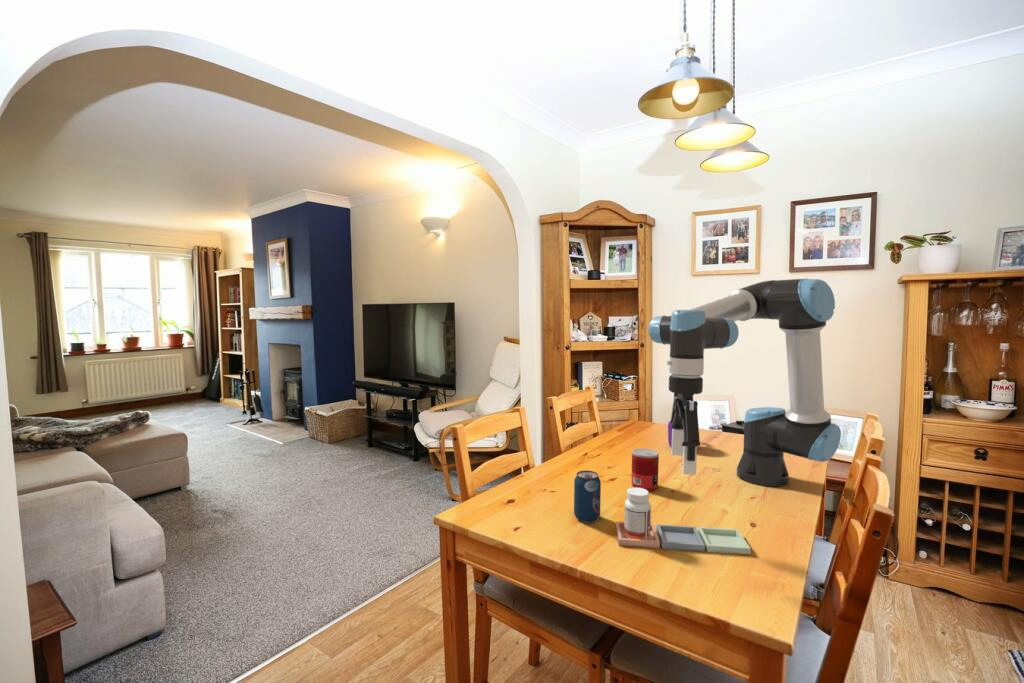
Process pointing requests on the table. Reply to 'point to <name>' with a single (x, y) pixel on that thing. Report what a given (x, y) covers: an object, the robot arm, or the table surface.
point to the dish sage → (723, 540)
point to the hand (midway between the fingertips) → (682, 464)
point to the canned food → (645, 469)
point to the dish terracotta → (624, 541)
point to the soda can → (587, 496)
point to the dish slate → (680, 537)
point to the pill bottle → (637, 514)
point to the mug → (671, 434)
